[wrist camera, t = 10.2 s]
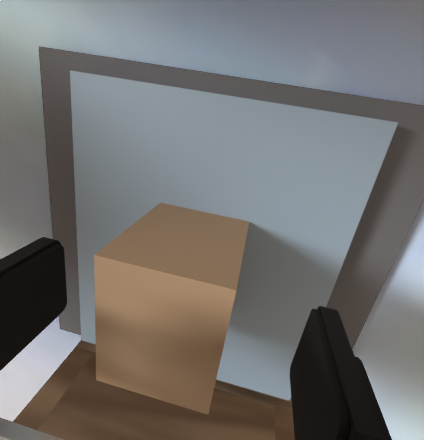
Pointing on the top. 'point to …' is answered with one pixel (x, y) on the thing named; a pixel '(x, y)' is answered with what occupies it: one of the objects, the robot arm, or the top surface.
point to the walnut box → (147, 410)
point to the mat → (264, 91)
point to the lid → (209, 231)
